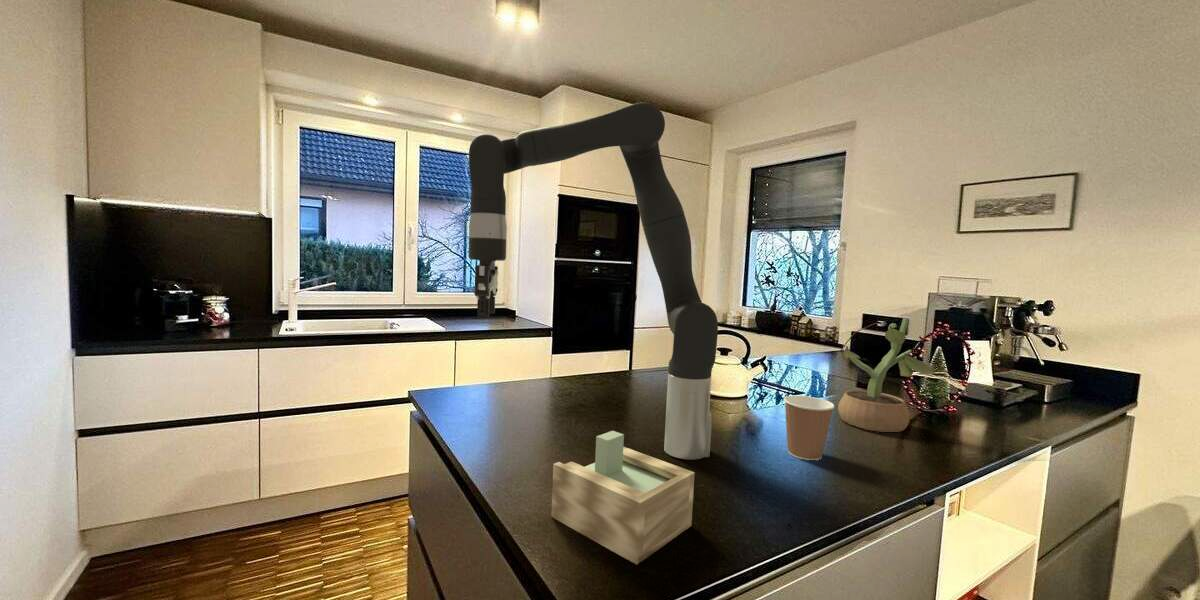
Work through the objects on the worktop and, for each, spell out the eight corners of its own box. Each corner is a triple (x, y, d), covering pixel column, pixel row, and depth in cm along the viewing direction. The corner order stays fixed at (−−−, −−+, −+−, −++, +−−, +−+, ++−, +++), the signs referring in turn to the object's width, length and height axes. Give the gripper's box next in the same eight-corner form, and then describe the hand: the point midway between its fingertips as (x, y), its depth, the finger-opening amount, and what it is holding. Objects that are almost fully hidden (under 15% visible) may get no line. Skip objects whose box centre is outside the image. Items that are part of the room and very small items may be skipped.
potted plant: (820, 416, 136) (828, 311, 134) (870, 413, 141) (879, 312, 139) (889, 446, 114) (900, 321, 112) (945, 441, 120) (956, 322, 118)
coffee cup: (829, 451, 109) (834, 399, 108) (830, 468, 100) (835, 411, 99) (781, 442, 113) (785, 393, 113) (778, 457, 104) (782, 403, 103)
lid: (679, 489, 74) (681, 444, 74) (638, 512, 66) (640, 463, 66) (610, 461, 83) (612, 422, 83) (567, 479, 76) (569, 436, 75)
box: (691, 525, 75) (694, 472, 74) (636, 564, 64) (639, 503, 64) (609, 488, 86) (611, 442, 85) (551, 516, 76) (553, 463, 75)
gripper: (502, 235, 91) (500, 320, 93) (509, 239, 106) (508, 312, 107) (462, 234, 91) (460, 319, 92) (475, 238, 105) (474, 311, 106)
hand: (486, 315), depth 99 cm, fingers open, 8 cm apart
